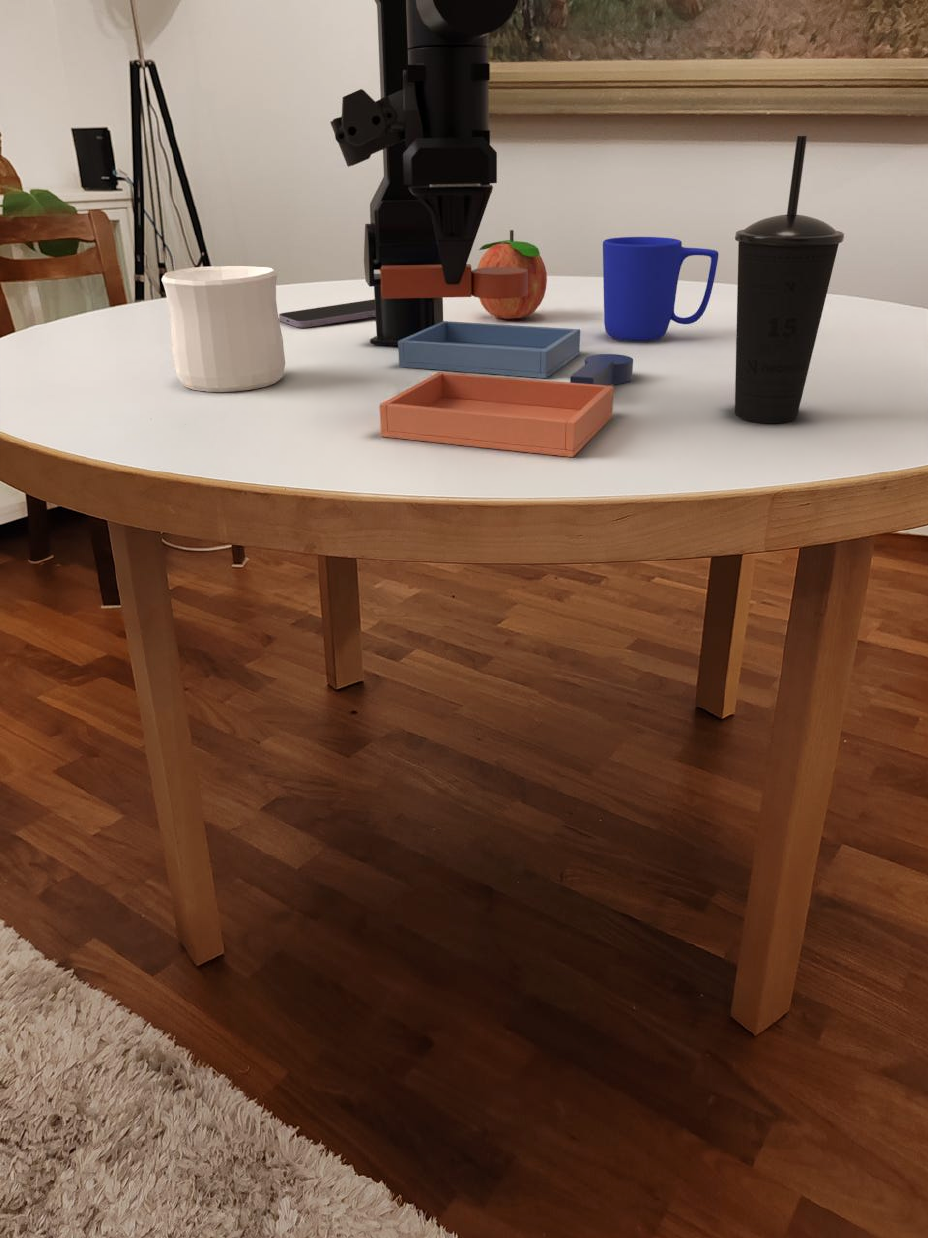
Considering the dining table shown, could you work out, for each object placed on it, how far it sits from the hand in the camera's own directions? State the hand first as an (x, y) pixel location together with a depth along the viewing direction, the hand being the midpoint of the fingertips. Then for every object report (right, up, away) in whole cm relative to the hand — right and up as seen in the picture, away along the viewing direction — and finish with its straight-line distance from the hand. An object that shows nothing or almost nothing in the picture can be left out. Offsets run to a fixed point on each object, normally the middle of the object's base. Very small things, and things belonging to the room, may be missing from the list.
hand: (452, 281), depth 74 cm
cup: (-21, -4, +15) cm, 26 cm away
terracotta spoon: (0, -1, 0) cm, 1 cm away
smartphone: (-14, +11, +44) cm, 48 cm away
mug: (+22, +4, +30) cm, 37 cm away
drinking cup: (+25, -10, +2) cm, 27 cm away
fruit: (+7, +10, +42) cm, 44 cm away
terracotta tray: (+4, -11, 0) cm, 12 cm away
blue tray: (+4, 0, +21) cm, 22 cm away
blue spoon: (+13, -5, +11) cm, 18 cm away
